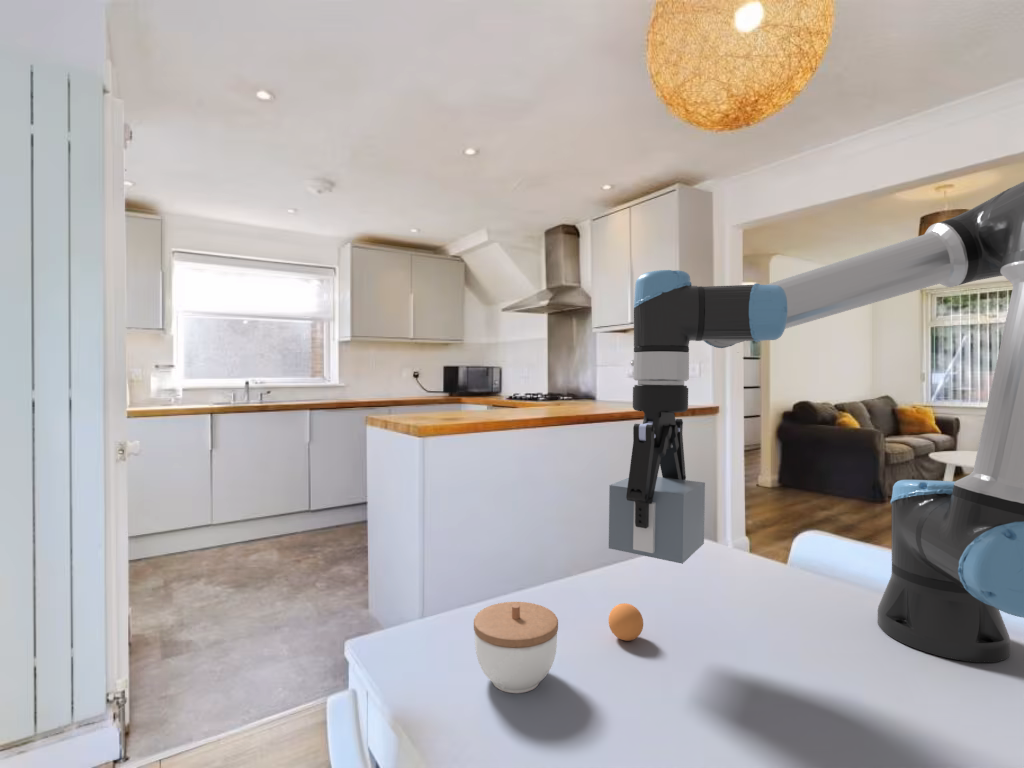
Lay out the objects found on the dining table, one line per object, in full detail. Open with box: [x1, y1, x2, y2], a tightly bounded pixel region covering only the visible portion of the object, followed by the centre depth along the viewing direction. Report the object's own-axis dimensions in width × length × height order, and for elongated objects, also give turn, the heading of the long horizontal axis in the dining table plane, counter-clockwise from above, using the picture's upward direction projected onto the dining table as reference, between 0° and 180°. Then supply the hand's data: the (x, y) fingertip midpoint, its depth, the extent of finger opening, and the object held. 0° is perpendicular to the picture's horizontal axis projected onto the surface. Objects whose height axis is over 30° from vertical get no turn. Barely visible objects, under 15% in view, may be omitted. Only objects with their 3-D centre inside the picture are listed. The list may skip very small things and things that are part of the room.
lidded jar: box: [473, 601, 559, 694], centre depth 67 cm, size 11×11×9 cm
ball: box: [608, 603, 644, 642], centre depth 78 cm, size 5×5×5 cm
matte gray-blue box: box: [608, 476, 706, 564], centre depth 75 cm, size 10×10×9 cm
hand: (657, 540), depth 75 cm, fingers closed on matte gray-blue box, 10 cm apart
